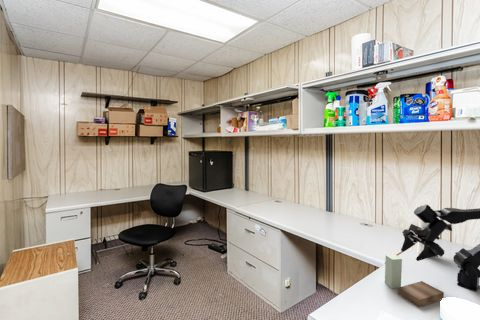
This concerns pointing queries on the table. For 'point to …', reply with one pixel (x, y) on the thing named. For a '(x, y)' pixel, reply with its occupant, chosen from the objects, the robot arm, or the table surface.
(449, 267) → the table surface
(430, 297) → the plinth
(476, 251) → the robot arm
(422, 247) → the cylindrical container
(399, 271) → the block
